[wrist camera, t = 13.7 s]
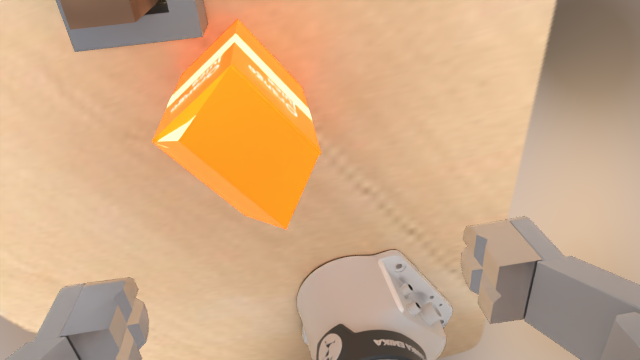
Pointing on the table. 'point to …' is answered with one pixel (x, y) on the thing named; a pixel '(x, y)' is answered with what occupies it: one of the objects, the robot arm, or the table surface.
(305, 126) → the orange juice
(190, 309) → the table surface
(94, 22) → the peg
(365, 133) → the table surface
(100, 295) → the robot arm
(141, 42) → the socket
